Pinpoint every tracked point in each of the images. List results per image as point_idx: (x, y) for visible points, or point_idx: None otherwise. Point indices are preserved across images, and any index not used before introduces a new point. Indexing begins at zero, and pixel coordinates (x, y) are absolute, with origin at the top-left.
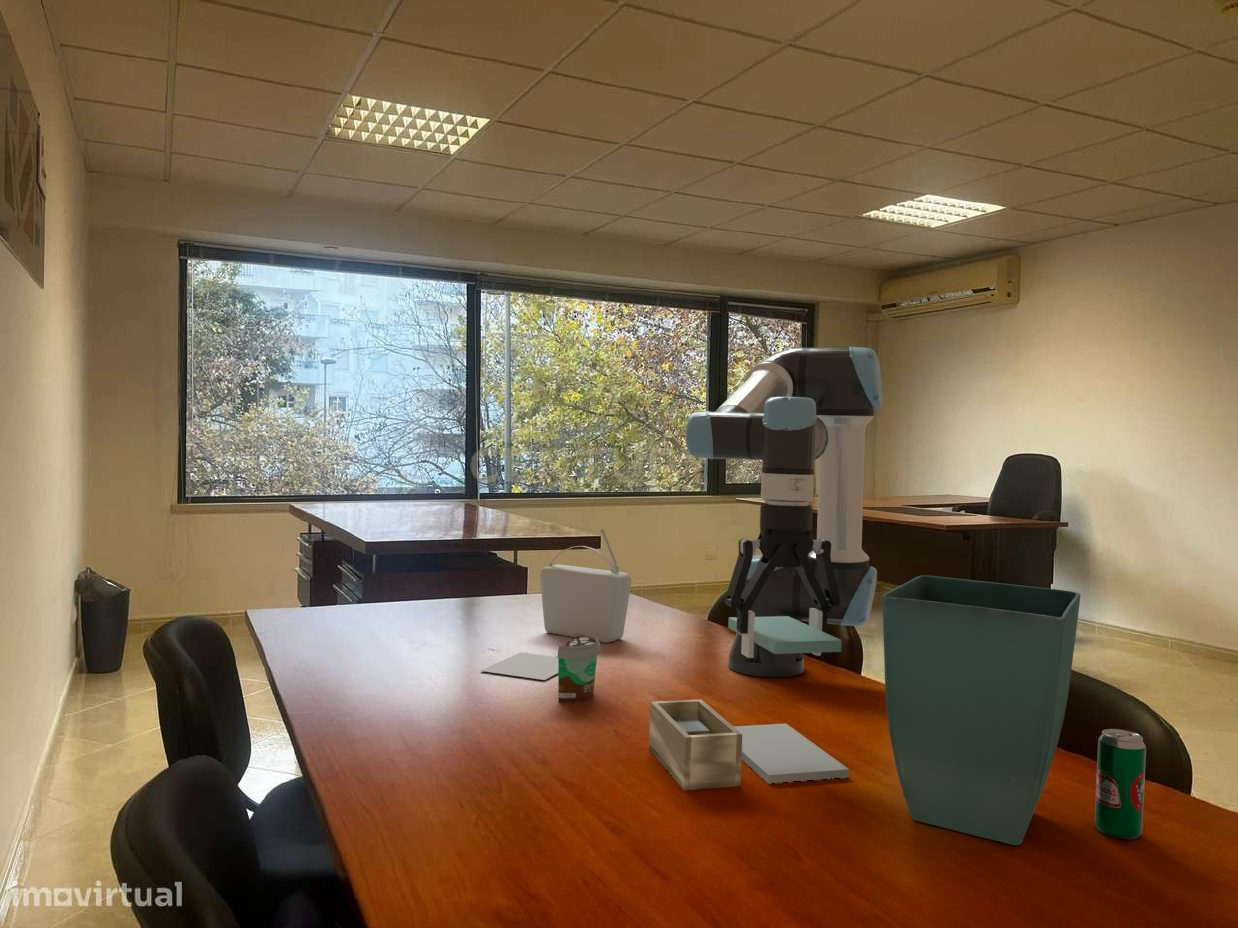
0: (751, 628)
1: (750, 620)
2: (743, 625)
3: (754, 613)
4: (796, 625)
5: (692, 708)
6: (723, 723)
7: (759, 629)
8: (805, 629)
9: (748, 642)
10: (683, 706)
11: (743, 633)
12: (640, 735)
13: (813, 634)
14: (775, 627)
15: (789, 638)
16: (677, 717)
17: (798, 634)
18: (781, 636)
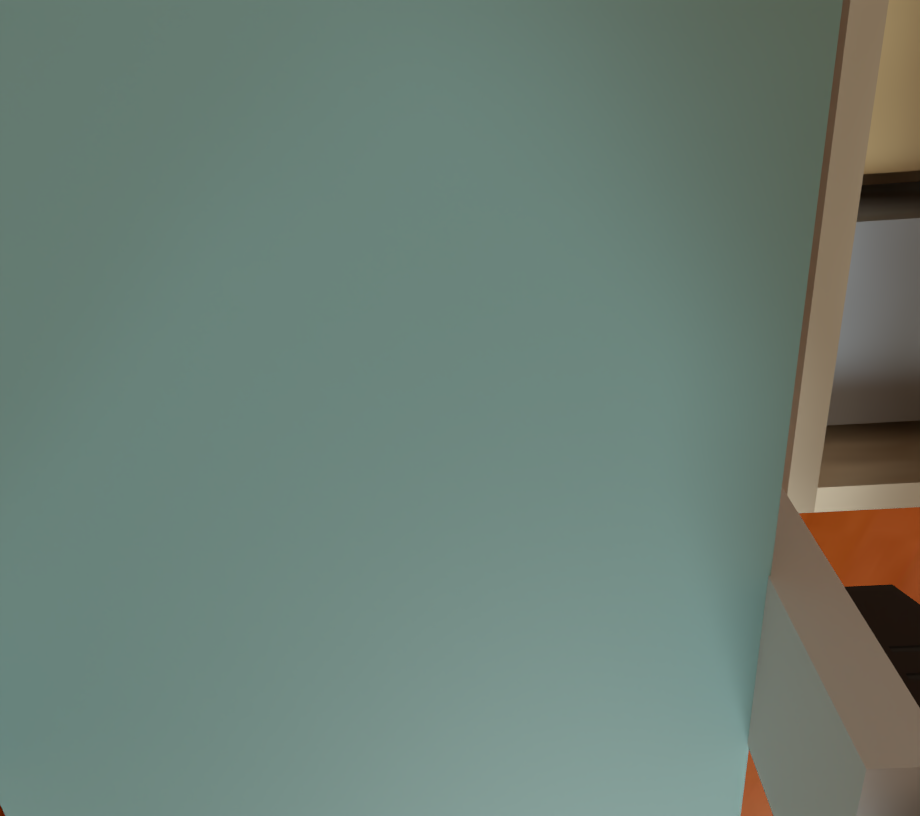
0: (818, 595)
1: (885, 670)
2: (916, 653)
3: (870, 756)
4: (134, 780)
5: (833, 465)
6: (874, 83)
7: (657, 640)
8: (71, 616)
9: (785, 501)
10: (891, 468)
11: (864, 588)
12: (906, 529)
13: (21, 349)
14: (417, 712)
15: (478, 107)
16: (895, 441)
17: (244, 361)
18: (550, 249)
